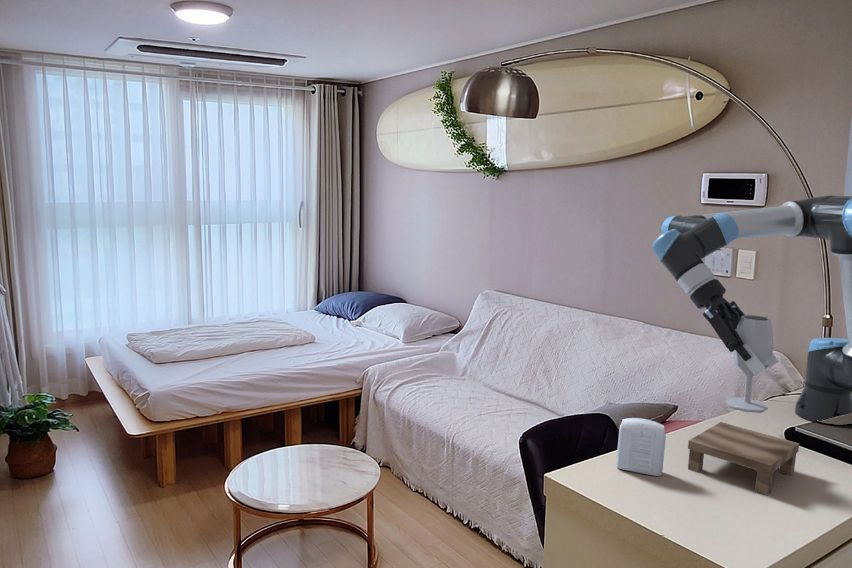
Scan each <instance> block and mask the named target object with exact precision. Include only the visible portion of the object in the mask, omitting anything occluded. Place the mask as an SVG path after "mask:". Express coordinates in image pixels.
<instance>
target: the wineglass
mask: <svg viewBox="0 0 852 568" xmlns="http://www.w3.org/2000/svg"><path fill="white" fill-rule="evenodd" d="M772 324H773V323H772V321H771V318H770V317H768V316H763V315H762V316H761V315H755V314H754V315H753V314H745V315H744V316H741V319H740V321H739V323H738V325H737V329H736V331H737V333H738V335H739V336H740V338H741V340H742V342H743V345H744V344H747V345H748V346H749V348H750V349H751V350H752V351H753V353H754V354H755V355H756V356H757V358H758V359H759V360H760V361H761V363H762V364H763V365H764V366H765V369H767V368H768V365H769V362H770V360H771V357H772V353H773V351H774V329H773V325H772ZM773 354H774V353H773ZM732 355H733V362H734V364H735V365H736V366H737V368H739V369H740V370H741V372H742V373H743V374H745V376H746V377H745V387H744V393H743V394H744V395H743V397H737V396H736V397H733V396H732V397H730V398H728V399H726V400H725V403H726V405H728V407H729V408H730V409H733V410H737V411H740V412H745V413H754V414H755V413H759V414H761V413H762V414H763V413H765V412H766V411H768V409H769V407H768V405H766V404H765V402H763V401H760V400H757V399H752V389H753V381H754V380H753V379H754V377H755V376H756V375H758V374H759V373H757V374H756V375H754V374H753V373H752V371H751V370H750V369H749V368H748V366H747V365H746V364H745V362H744V361H743V360H742V359H741V357H740V356H739V355H738V354H737V352H736V351H735V350H734V351H733V352H732ZM765 369H764V370H765Z"/></svg>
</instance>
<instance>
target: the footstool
mask: <svg viewBox="0 0 852 568" xmlns="http://www.w3.org/2000/svg"><path fill="white" fill-rule="evenodd" d="M799 448H800V443H798V442H795V441H791V440H788V439H785V438H781V437H777V436H773V435H769V434H767V433H763V432H758V431H755V430H752V429H748V428H744V427H741V426H736V425H733V424H729V423H727V422H723V421H720V422H718V423H716V424H715V425H713V426H711V427H709V428H708V429H706V430H704V431H703V432H701V433H699V434H698V435H696V436H694V437H692V438H690V439H689V440H688V443H687V449H688V450H689V452H688V453H689V454H688V464H687V469H688V470H690V471H692V472H695V473H699V472H701V471H702V470H703V469H704V456H705V455H706V456H710V457H713V458H717V459H719V460H724V461H726V462H730V463H732V464H735V465H739V466H742V467H745V468H748V469H751V470H754V471H756V480H755V486H754V487H755V489H754V492H756V493H758V494H762V495H764V496H768V495H769V494H770V493H771V491H772V483H773V476H774V475H773V474H774V473H773V472H775V471H776V470H778V469H779V473H782V474H787V475H789V476H791V475H792V474H793V473H795V466H796V460H797V454H798V452H799Z"/></svg>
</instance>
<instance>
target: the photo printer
mask: <svg viewBox="0 0 852 568" xmlns="http://www.w3.org/2000/svg"><path fill="white" fill-rule="evenodd" d="M666 437H667V436H666V430H665V426H664V425H663V424H662V423H659V422H658V421H654V420H651V419H646V418H640V417H629V418H623V419H622V421H621V423H620V425H619V431H618V440H617V441H618V442H617V451H616V453H617V454H616V461H615V463H616V464H615V465H616V466H615V467H616V468H617V469H620V470H623V471H629V472H633V473H634V472H635V473H638V474H644V475H650V476H654V477H655V476H656V477H660V476H662V475H663V469H664V468H663V467H664V459H665V448H666Z"/></svg>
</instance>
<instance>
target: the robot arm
mask: <svg viewBox="0 0 852 568" xmlns="http://www.w3.org/2000/svg"><path fill="white" fill-rule="evenodd" d="M660 231H661V233H660V235H659V236H658V237H657V238H656V239H655V240H654V241H653V243H652V245H651V246H652V250H653V252H654V254H655V256H656V257H657V258H658V259H659V262H660V263H662V265H663V266H664V267H665V269H666V270H667V271H668V272H669V273H670V274H671V276H672V277H673V278H674V279H675V280H676V282H677V284H678V285H679V286H680V287H679V288H680V289H681V290H683V291H684V292H685V294H686V295H690V296H689V299H690V300H691V301H692V303H693V304H694V305H695V307H696V308H697V309H699V310H701V309H706V310H705V311H704V312H702V316H703V317H704V318H705V319H706V321H707V322H708V323H709V324H710V325H711V327H712V328H713V330H714V331H715V333H716V334H717V336H718V337H719V338H720V340H721V342H722V343H723V344H724V346H725V348H727V350H728V351H729V352H730V353H733V351H734V350H735V351H736V352H737V354H738V355H739V356H740V357H741V359H742V360H743V361H744V362H745V364H746V365H747V366H748V368H749V369H750V370H751V371H752V373H753V374H754V375H755V376H756V375H758V374H760V373H761V372H763V371H764V370H765V366H764V365H763V364H762V363H761V361H760V360H759V359H758V358H757V356H756V355H755V354H754V353H753V351H752V350H751V349H750V348H749V346H748V345H747V344H744V345H743V342H742V340H741V338H740V336H739V335H738V333H737V331H736V329H737V325H738V323H739V321H740V319H741V316H744V315H746V314H745V312H743V311H742V310H741V308H740V307H739V305H738V304H737V303H736V302H735V300H731V301H728V300H727V299H726V298H725V297H724V295H725V293H726V291H727V290H726V288H725V287H724V286H723V284H722V283H721V282H720V281H719V279H717V278H715V277H716V276H715V274H714V273H713V272H712V270H711V269H710V268H709V267H708V265H707V264H706V263H705V262H704V260H703V259H704V258H705V257H707V256H710V255H711V254H713V253H715V252H716V251H718V250H720V249H722V248H723V247H725V246H726V247H727V246H728V245H729V244H730V243H732V242H733V241H735V240H742V239H751V238H752V239H753V238H761V237H770V236H778V235H784V236H786V237H787V238H793V237H804V238H805V237H806V238H814V239H822V240H826V241H829V244H830V251H831V254H832V255H833V256H835V257H837V258H838V261H839V262H838V263H839V264H838V265H839V273H840V281H841V288H842V289H841V291H842V299H843V306H844V315H845V317H844V318H845V325H846V335H847V338H843V337H842V338H840V337H839V338H838V337H816V338H813V339H812V340H811V341H810V342H809V347H808V350H807V359H806V367H805V368H806V371H805V380H804V387H803V389H802V390H801V393H800V394H799V397H798V398H797V401H796V403H795V406H794V413H795V414H796V415H797V416H798V417H801V418H802V419H805V420H808V421H811V422H813V421H817V420H822V419H826V418H830V417H835V416H839V415H844V414H849V413H852V195H849V196H848V195H831V194H830V195H822V196H816V197H815V196H814V197H810V198H804V199H798V200H791V201H790V200H789V201H786V202H783V204H781V205H780V206H771V207H762V208H751V209H742V210H741V209H740V210H733V211H723V212H714V213H705V214H704V213H703V214H696V215H687V216H686V215H685V216H682V215H673V216H669V217H667V218H666V219H665V220H664V221H663V222H662V224H661V229H660ZM779 362H780V360H779V359H778V358H777V356H776V355H775V354H774V353H772V357H771V360H770V362H769V365H768V367H767V368H768V369H770V368H771V367H772V366H774V365H776V364H778V363H779ZM757 373H758V374H757Z"/></svg>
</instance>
